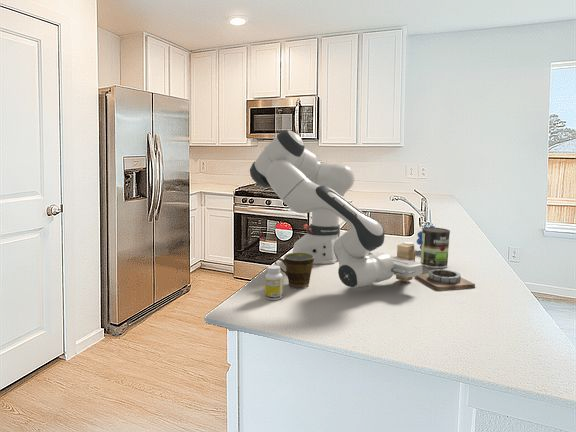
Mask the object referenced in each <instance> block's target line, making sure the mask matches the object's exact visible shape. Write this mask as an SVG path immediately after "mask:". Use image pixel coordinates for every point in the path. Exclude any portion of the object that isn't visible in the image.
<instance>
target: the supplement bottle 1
mask: <svg viewBox="0 0 576 432" xmlns="http://www.w3.org/2000/svg"><path fill="white" fill-rule="evenodd" d="M280 268H281V266H280V265H278V266H277V265H275V264H274V265H272V264H271V265H268V266H267V268H266V271H267V273H265V275H264V287H265V290H264V296H265V299H266V300H269V301H277V300H278V301H279V300H281V299H283V297H284V296H283V295H284V294H283V293H284V290H283V289H284V285H283V284H284V283H283V282H284V281H283V280H284V278H283V274H282V273H281V269H280Z"/></svg>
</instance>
